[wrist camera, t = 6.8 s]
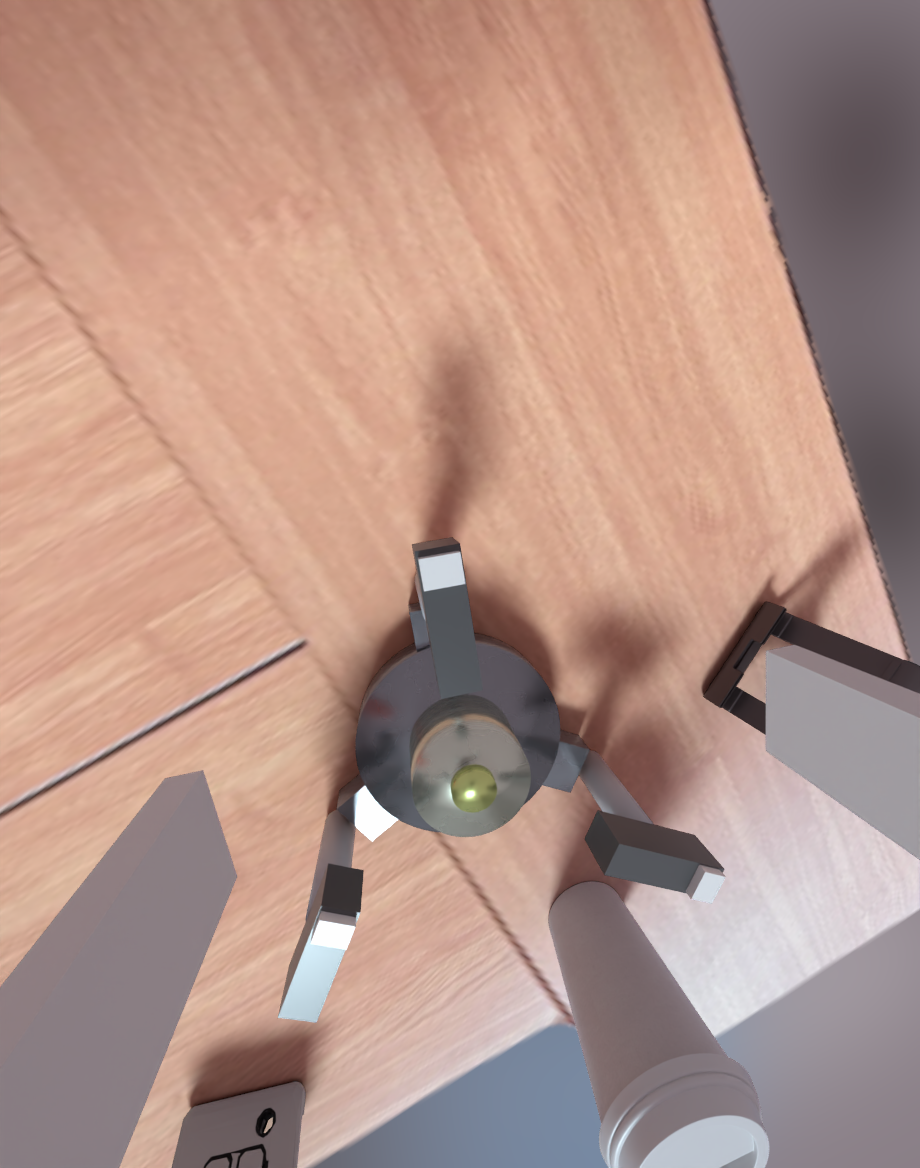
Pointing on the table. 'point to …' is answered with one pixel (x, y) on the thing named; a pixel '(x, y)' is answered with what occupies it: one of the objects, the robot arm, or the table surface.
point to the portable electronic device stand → (807, 637)
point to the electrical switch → (244, 1131)
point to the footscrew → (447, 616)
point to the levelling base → (420, 691)
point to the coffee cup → (649, 1047)
